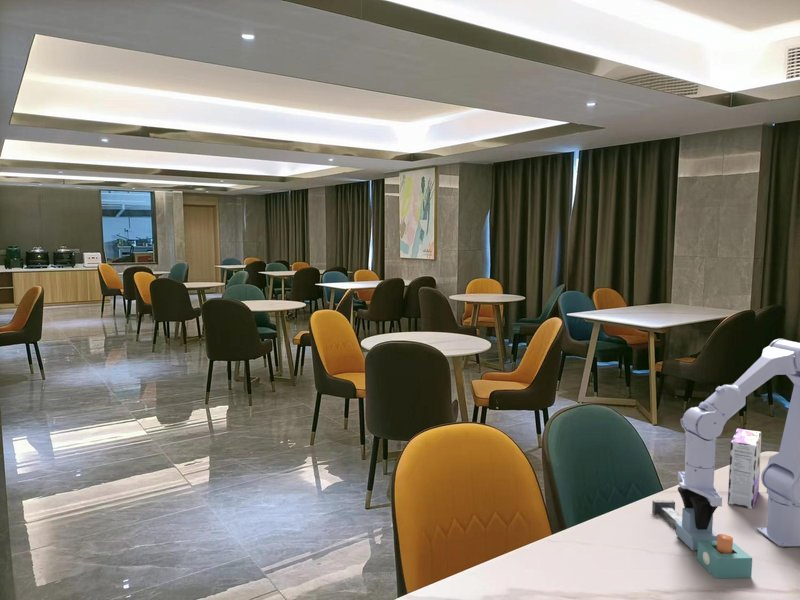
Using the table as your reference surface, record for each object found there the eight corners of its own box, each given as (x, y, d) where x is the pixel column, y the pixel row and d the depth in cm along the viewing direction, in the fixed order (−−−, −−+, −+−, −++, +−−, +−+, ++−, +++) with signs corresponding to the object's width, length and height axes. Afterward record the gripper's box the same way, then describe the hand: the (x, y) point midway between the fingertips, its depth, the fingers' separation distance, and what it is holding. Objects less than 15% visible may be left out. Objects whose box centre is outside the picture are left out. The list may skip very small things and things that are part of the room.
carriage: (701, 534, 135) (702, 504, 134) (718, 549, 128) (720, 518, 127) (674, 534, 135) (676, 504, 134) (691, 550, 128) (692, 518, 127)
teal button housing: (730, 559, 124) (731, 540, 124) (751, 577, 118) (752, 557, 117) (696, 559, 124) (697, 541, 124) (715, 578, 117) (716, 558, 117)
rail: (672, 511, 147) (672, 500, 147) (721, 555, 126) (722, 541, 126) (652, 512, 147) (652, 500, 147) (698, 556, 126) (698, 542, 126)
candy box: (734, 486, 163) (737, 427, 162) (759, 491, 160) (762, 431, 158) (726, 504, 152) (729, 440, 150) (753, 510, 148) (756, 444, 147)
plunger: (726, 552, 122) (727, 533, 122) (735, 560, 119) (735, 540, 119) (713, 553, 122) (714, 534, 122) (721, 560, 119) (722, 540, 119)
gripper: (665, 452, 137) (663, 510, 138) (699, 476, 122) (696, 541, 124) (695, 452, 137) (693, 510, 138) (733, 476, 123) (730, 540, 124)
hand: (697, 524), depth 131 cm, fingers closed on carriage, 3 cm apart
